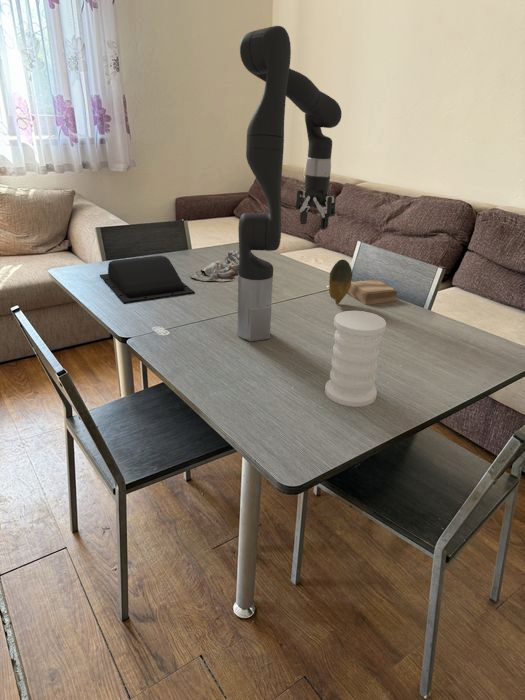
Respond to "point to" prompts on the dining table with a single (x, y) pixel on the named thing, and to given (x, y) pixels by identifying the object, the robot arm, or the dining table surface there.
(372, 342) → the decorative container
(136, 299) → the black rounded block
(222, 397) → the dining table surface
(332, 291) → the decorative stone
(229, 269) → the wall ornament
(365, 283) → the plinth
